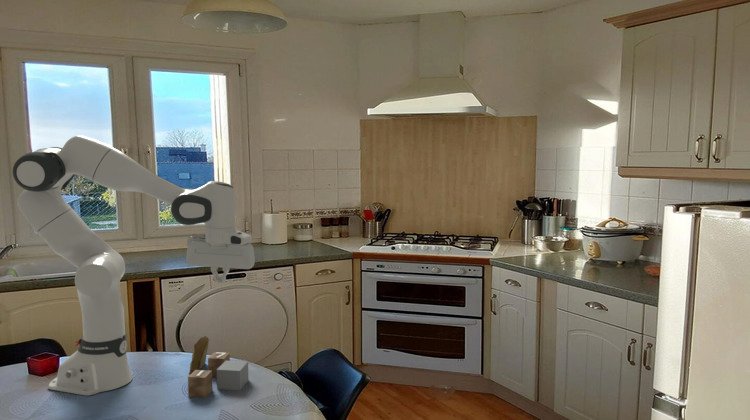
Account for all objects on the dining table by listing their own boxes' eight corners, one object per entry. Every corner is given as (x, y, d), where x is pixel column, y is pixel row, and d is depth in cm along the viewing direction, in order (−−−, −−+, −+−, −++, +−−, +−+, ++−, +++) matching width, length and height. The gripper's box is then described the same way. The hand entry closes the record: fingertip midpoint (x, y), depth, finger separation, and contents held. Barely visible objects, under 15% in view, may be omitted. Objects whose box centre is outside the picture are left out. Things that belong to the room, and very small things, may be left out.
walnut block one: (188, 397, 153) (187, 376, 152) (195, 389, 158) (195, 369, 157) (205, 398, 152) (205, 377, 152) (212, 390, 157) (212, 369, 157)
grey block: (217, 389, 158) (216, 369, 158) (226, 379, 165) (225, 360, 165) (240, 390, 157) (239, 370, 157) (248, 380, 164) (248, 361, 164)
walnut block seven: (208, 376, 167) (207, 357, 166) (214, 370, 172) (214, 351, 171) (224, 377, 166) (223, 358, 166) (230, 371, 171) (229, 352, 170)
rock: (200, 371, 165) (221, 355, 174) (184, 348, 166) (206, 334, 174) (181, 385, 170) (203, 369, 179) (165, 363, 170) (188, 348, 179)
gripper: (182, 235, 159) (182, 281, 160) (249, 239, 157) (249, 286, 158) (191, 232, 165) (191, 277, 166) (256, 236, 163) (256, 281, 164)
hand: (220, 281), depth 162 cm, fingers closed
